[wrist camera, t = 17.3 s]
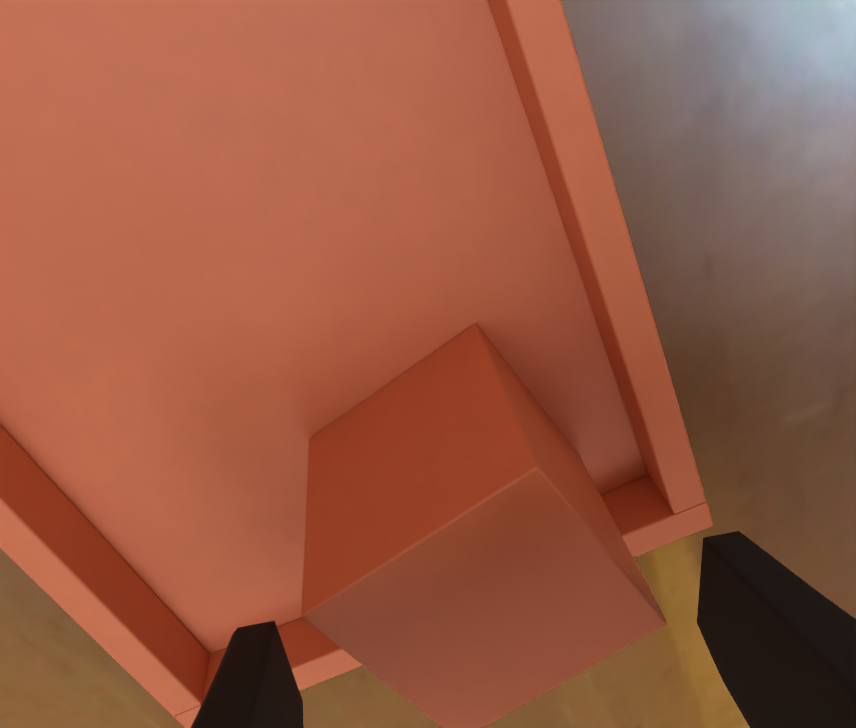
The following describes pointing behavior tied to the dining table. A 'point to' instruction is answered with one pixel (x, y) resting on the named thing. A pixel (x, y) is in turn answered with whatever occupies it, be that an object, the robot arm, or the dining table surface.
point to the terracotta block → (464, 542)
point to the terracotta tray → (289, 290)
